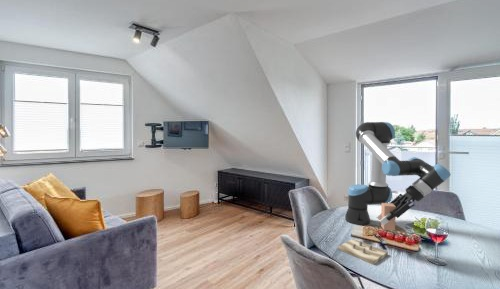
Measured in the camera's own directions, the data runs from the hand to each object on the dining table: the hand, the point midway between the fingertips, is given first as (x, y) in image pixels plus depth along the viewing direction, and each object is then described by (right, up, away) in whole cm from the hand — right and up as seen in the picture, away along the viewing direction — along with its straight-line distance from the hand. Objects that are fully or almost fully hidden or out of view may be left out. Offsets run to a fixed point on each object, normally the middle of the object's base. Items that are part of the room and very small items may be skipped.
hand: (379, 221), depth 126 cm
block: (+4, -3, -1) cm, 5 cm away
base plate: (-10, -14, -3) cm, 18 cm away
